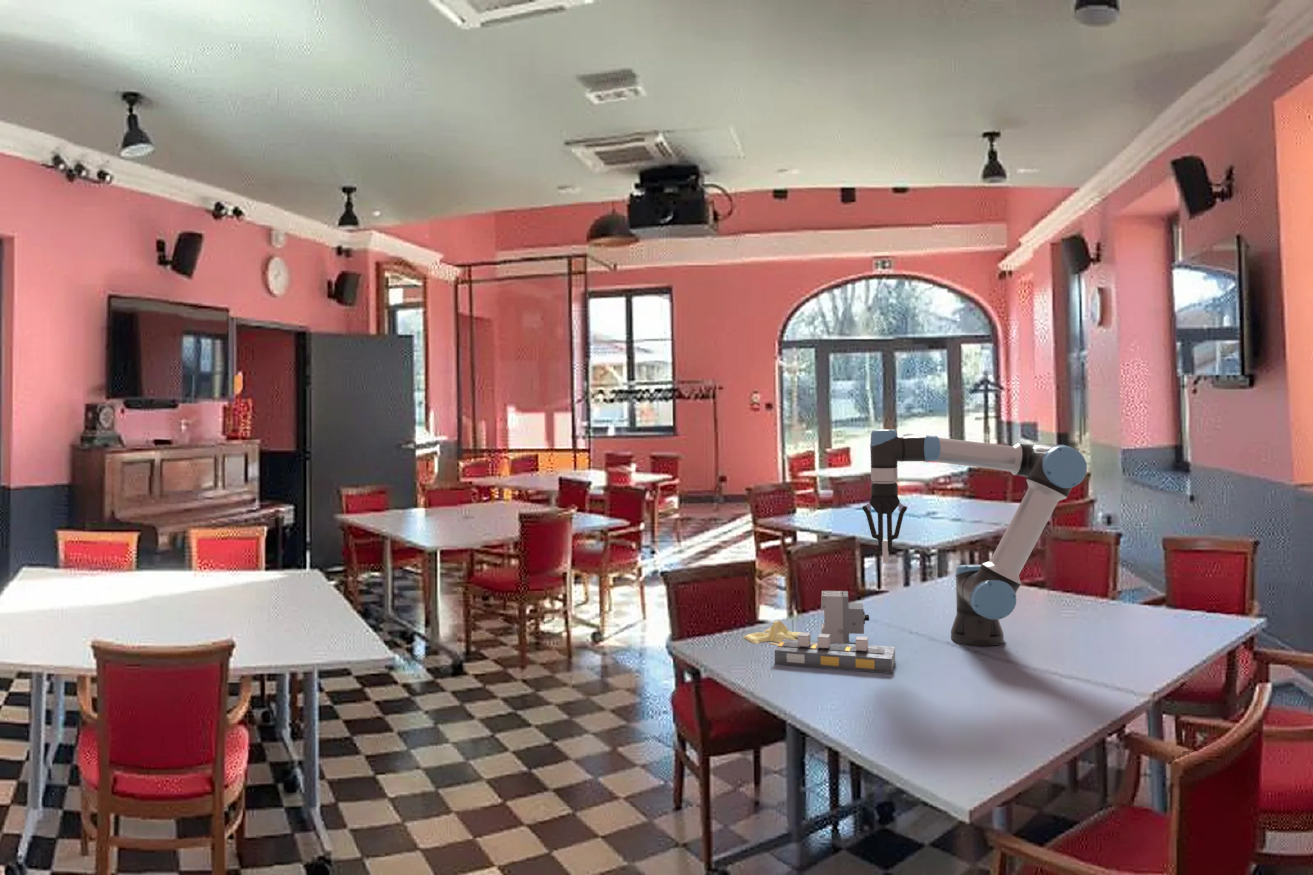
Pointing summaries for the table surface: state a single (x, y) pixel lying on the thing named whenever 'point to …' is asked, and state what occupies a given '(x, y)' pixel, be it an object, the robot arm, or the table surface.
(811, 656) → the console
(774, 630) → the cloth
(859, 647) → the knob
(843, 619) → the circuit breaker
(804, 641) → the knob
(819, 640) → the knob
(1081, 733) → the table surface
